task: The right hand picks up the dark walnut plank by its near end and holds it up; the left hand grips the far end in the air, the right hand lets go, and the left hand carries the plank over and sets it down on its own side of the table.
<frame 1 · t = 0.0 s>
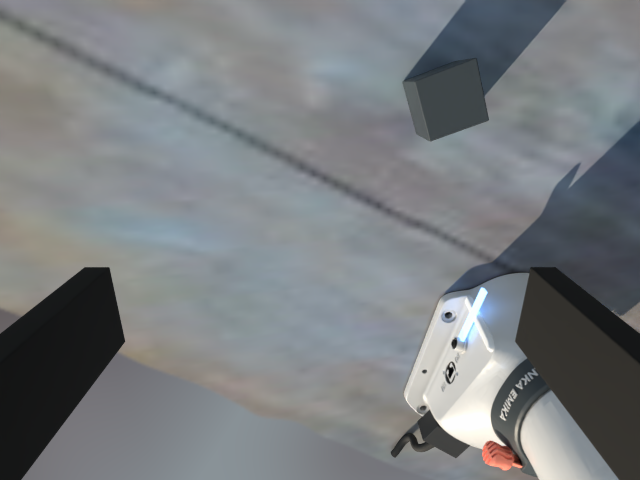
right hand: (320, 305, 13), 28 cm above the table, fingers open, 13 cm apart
slate block: (435, 98, 37), on the table
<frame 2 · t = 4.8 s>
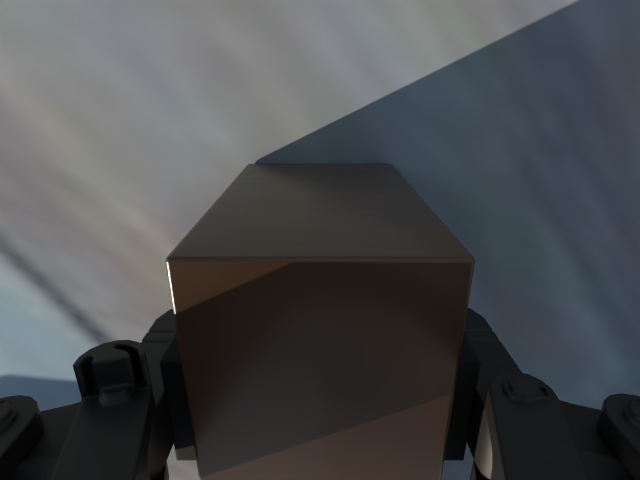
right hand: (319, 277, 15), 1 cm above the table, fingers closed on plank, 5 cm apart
plank: (320, 474, 19), on the table, touching right hand
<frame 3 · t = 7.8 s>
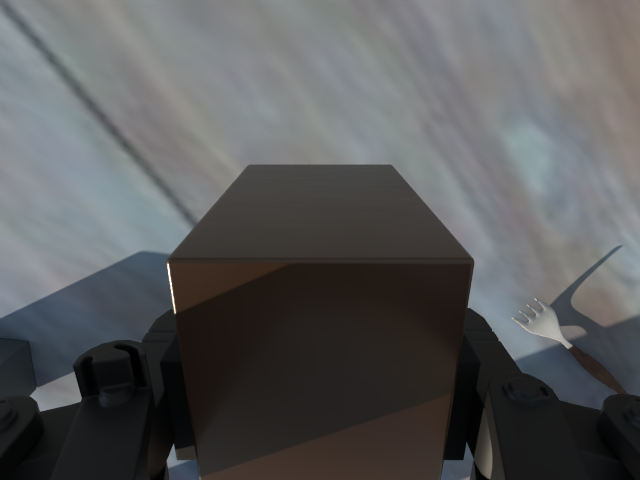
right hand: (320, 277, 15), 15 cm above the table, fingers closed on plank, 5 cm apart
fork: (573, 348, 33), on the table
slate block: (2, 362, 34), on the table
plank: (320, 474, 19), point 14 cm above the table, touching right hand
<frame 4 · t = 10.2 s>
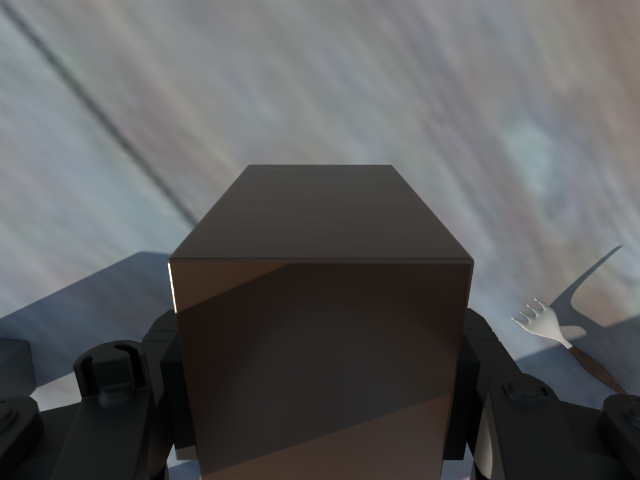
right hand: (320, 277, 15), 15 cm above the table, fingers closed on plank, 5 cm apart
fork: (573, 348, 33), on the table
slate block: (2, 362, 34), on the table
plank: (319, 474, 19), point 14 cm above the table, touching right hand, left hand
when the right hand's fingers open (15 cm above the table, at t = 11.0 s): plank stays where it is, held by the left hand.
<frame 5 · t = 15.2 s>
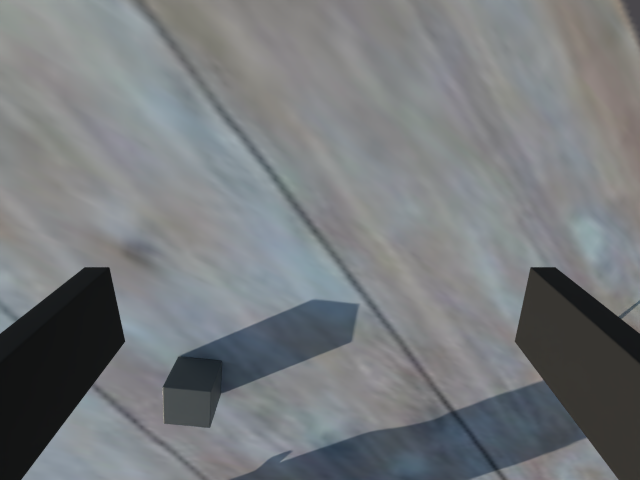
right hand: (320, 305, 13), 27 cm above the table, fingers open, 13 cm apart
slate block: (200, 375, 47), on the table
when the left hand's fingers open (5 cm above the table, at t = 20.2 s): plank stays where it is, on the table.
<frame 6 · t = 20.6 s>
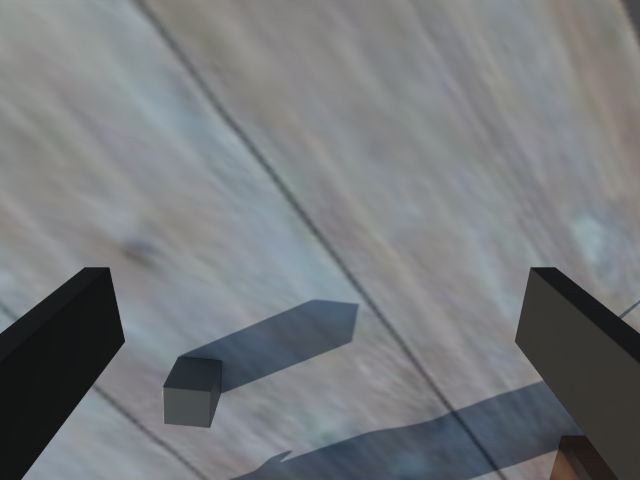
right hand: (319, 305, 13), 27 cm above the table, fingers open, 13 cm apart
slate block: (200, 375, 47), on the table
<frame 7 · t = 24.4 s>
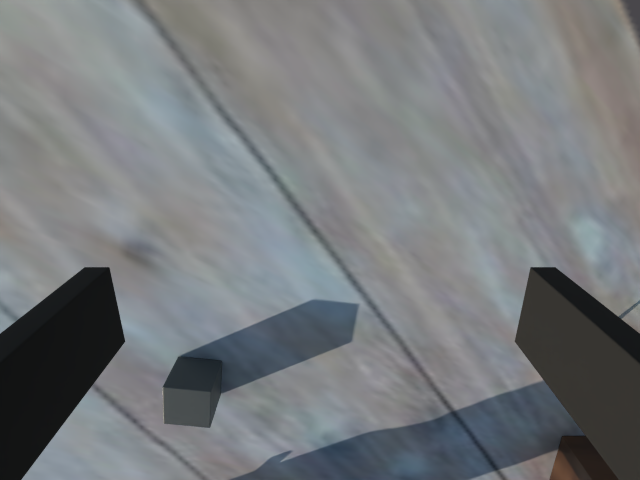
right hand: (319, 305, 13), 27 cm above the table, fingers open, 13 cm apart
slate block: (200, 375, 47), on the table
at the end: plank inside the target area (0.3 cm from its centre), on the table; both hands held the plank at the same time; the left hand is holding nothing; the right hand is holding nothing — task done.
